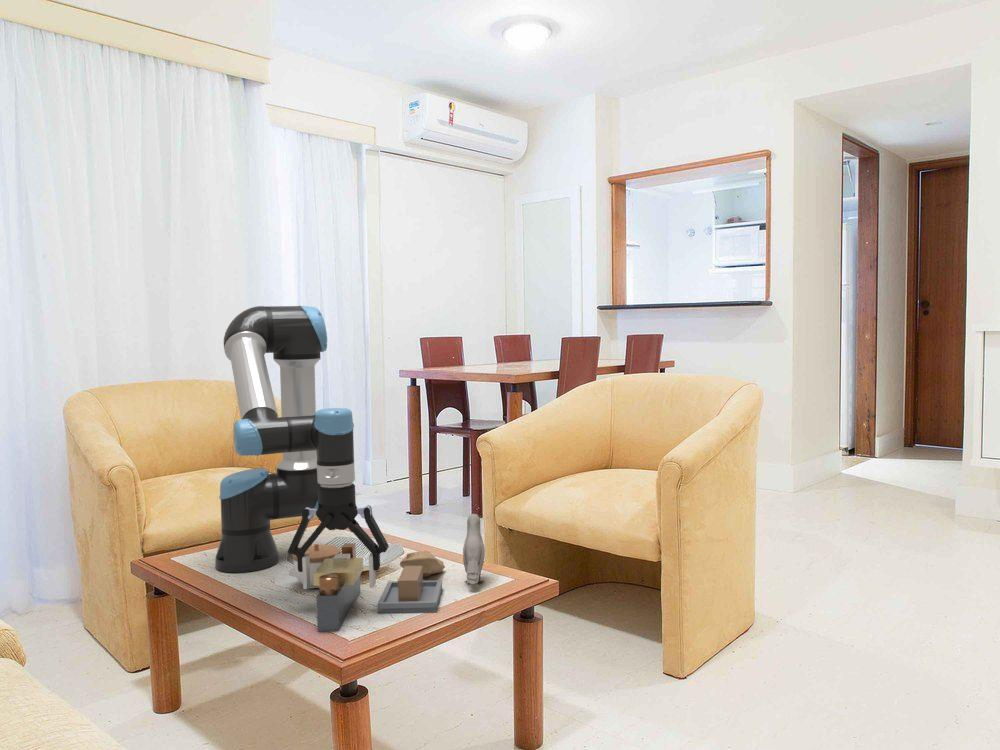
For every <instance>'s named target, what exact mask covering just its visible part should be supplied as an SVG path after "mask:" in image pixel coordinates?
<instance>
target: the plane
mask: <svg viewBox="0 0 1000 750" xmlns="http://www.w3.org/2000/svg"><path fill="white" fill-rule="evenodd" d="M356 548H357V547H356V542H355V543H353V542H352V543H349V542H347V543H343V545H342V546H341V554H350V558H357V556H356V555H357V553H356V552H357V549H356ZM319 587H320V588H319V592H318V593H317V594H316V596H315V597H316V598H315V599H316V623H317V625H316V626H317V627H316V628H317V632H318V633H324V632H326V633H327V632H339V631H340V629H342V626H343V625H344V622H345V621H346V619H347V617H348V615H349V613H350V611H351V610H352V608H353V606H354V605H355V603H356V601H357V599H358V598H359V596H360V594H361V592H362V591H361V575H360V576H359V577H358V579H357V581H356V582H355V584H354V585H338V575H336V574H326V575H322V576H320V577H319ZM320 631H321V632H320ZM322 631H324V632H322Z"/></svg>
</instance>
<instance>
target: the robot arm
mask: <svg viewBox="0 0 1000 750" xmlns="http://www.w3.org/2000/svg"><path fill="white" fill-rule="evenodd" d="M224 333H225V334H224V337H223V350H224V354H225V356H226V358H227V359H228V360H229V361H230V364H231V368H232V369H231V370H232V375H233V380H234V385H235V386H234V387H235V392H236V393H235V394H236V397H237V402H238V409H239V415H240V419H238V420H235V422H234V423H233V443H234V451H235V453H236V454H237V455H238V456H242V457H243V456H246V457H247V456H254V457H255V456H258V457H259V456H262V455H263V456H264V455H275V454H282V459H281V460H280V461H279V462H278V463H277V465H276V473H270V472H269V470H268V469H267V468H263V467H259V468H251V469H246V470H245V469H244V470H241V471H236V472H233V473H230V474H229V475H226V476H225V477H223V478H222V480H221V482H220V484H219V496H218V497H219V500H220V521H221V522H220V524H221V526H220V527H221V538H220V541H219V545H218V547H217V551H216V554H215V560H214V561H215V563H214V564H215V569H216V570H217V571H220V572H223V573H232V574H233V573H234V574H235V573H237V574H238V573H249V572H250V573H251V572H256V571H260V570H265V569H267V568H270V567H272V566H274V565H277V564H278V562H279V560H280V557H279V550H278V547H277V544H276V542H275V539H274V537H273V535H272V534H273V533H272V531H271V521H274V520H282V519H288V518H289V519H290V518H297V517H301V521H300V524H299V526H298V527H297V529H296V532H295V534H294V536H293V538H292V541H291V542H290V545H289V546H288V549H287V554H289V555H292V554H294V555H296V556H297V561H298V571H299V572H303V584H302V587H303V590H307V589H309V588H308V587H309V586H310V560H309V554H305V552H306V551H307V550H308V548H309V547H310V546H313V544H314V542H315V541H316V540H317V539H318V537H319V536H320V535H321V534H322V533H323V531H324V530H325V529H327V530H328V531H335V530H339V531H345V530H347V529H348V530H349V531H350V532H351V533H353V535H355V536H356V538H357V539H358V540H359V541H360V542H361V543H362V544H363V545H364V547H365V548H366V549H367V550H368V551H369V552H370V553H369V555H368V572H369V573H368V574H369V576H368V579H369V588H371V589H373V588H375V585H376V583H377V581H376V571H379V569H380V568H381V555H380V554H382V553H386V552H387V550H388V549H389V548H390V547H389V543H388V542H387V540H386V537H385V536H384V534H383V532H382V531H381V529H380V527H379V525H378V523H377V522H376V520H375V517H374V515H373V508H372V506H371V505H366V506H365V507H358V506H357V502H356V485H355V484H354V482H355V479H356V477H355V476H356V475H355V474H356V473H355V449H354V447H355V446H354V442H355V441H354V428H355V424H354V420H353V419H354V418H353V413H352V410H351V409H349V408H347V407H344V408H343V407H333V408H332V407H331V408H330V407H329V408H328V407H327V408H321V409H318V410H317V408H316V407H317V405H316V403H317V402H316V370H315V369H316V368H315V367H316V364H317V363H318V362H319V361H320V360H321V359H322V358H321V353H324V352H325V351H327V349H328V331H327V327H326V323H325V320H324V317H323V314H322V313H321V311H320V310H319V309H318V308H317V307H316V306H305V305H288V306H283V305H282V306H281V305H280V306H279V305H276V306H275V305H271V306H267V305H266V306H265V305H258V306H252V307H249V308H247V309H244V310H243V311H241V313H239V314H238V315H236V316H235V317H234V318H233V320H232V321H231V322H230V323H229V324H228V327H227V328H226V329H225V332H224ZM269 353H270V354H272V355H273V361H274V362H275V364H277V365H278V366H279V376H280V377H279V378H280V409H281V413H280V414H281V415H280V416H281V417H279V416H278V415H279V414H278V410H277V405H276V400H275V398H274V397H275V395H274V392H273V387H272V384H271V380H270V374H269V371H268V367H267V362H266V358H265V357H266V356H265V355H266V354H269ZM358 515H360V516H361V518H362V519H364V520H365V523H366V525H367V528H368V529H369V531H370V532H371V535H372V536H373V538H374V540H375V541H374V540H373V539H372V537H370V535H369V534H368V533H367V532H366V531H365V530H364V528H362V527H361V525H360V524H359V522H358V521H357V520H356V519H355V518H356V517H357V516H358ZM315 516H316V517H317V519H318V520H319V521H320V524H319V525H318V526H317V527H316V528H315V530H314V531H313V532H312V533H311V535H310V536H309V537H308V539H306V541H305V542H304V543H303V545H302V546H301V547H298V546H299V545H300V542H301V541H302V539H303V537H304V534H305V532H306V530H307V528H308V526H309V523H310V520H312V519H313V518H314V517H315Z"/></svg>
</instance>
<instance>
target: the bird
mask: <svg viewBox="0 0 1000 750" xmlns="http://www.w3.org/2000/svg"><path fill="white" fill-rule="evenodd" d="M466 523H467V524H466V529H467V530H466V537H465V540H464V543H463V547H462V557H463V558H462V562H463V566H464V571H465V574H466V580H465V581H464V583H465V582H466V584H467V585H468V586H470V585H476V584H478V585H479V586H480V585H481V584H482V583H483V582H484V580H481V575H482V571H483V566H484V563H485V557H486V556H485V554H486V553H485V552H486V549H485V544H484V539H483V537H482V534H481V517H479V515H478V514H476V513H471V514H469V516H468V517H467V521H466Z"/></svg>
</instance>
